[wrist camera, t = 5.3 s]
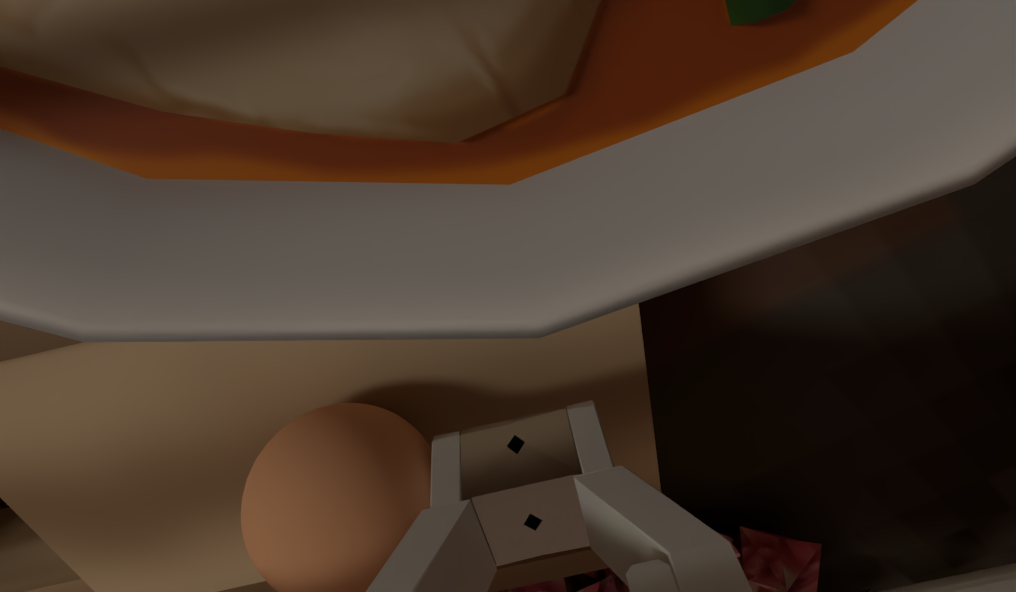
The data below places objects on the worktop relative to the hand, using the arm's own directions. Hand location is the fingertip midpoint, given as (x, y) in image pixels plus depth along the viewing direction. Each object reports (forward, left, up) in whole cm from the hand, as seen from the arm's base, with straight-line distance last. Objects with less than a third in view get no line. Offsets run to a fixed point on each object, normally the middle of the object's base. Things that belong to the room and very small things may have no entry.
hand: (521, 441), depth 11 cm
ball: (0, -3, 0) cm, 3 cm away
